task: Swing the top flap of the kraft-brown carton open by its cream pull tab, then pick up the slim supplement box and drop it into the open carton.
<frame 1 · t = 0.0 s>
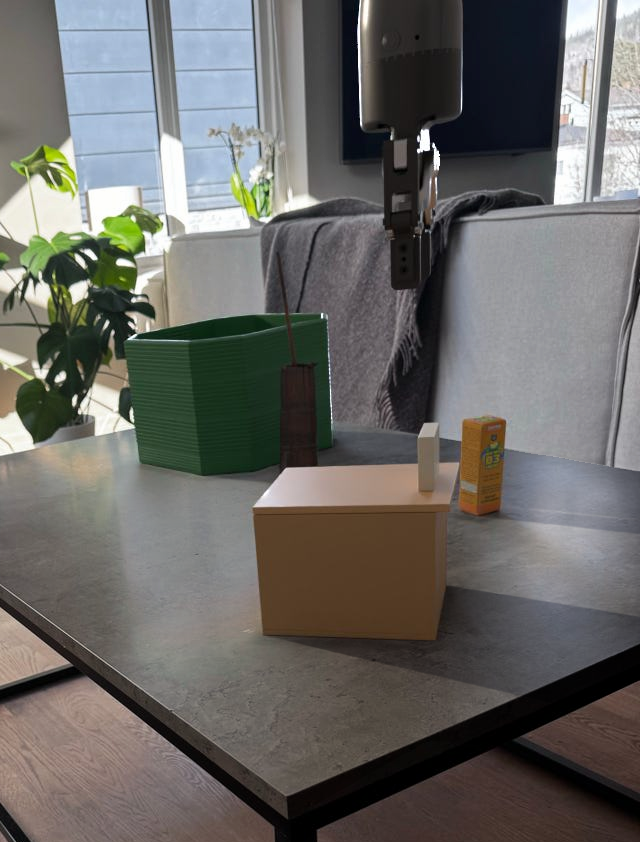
hand: (411, 284, 75), 25 cm above the table, tool pointing down, fingers open, 8 cm apart
flap: (358, 462, 74), point 13 cm above the table, hinge at 0.0°
carton: (357, 608, 80), on the table
butter churn: (307, 482, 120), on the table
planter: (236, 450, 141), on the table
supplement box: (480, 512, 100), on the table
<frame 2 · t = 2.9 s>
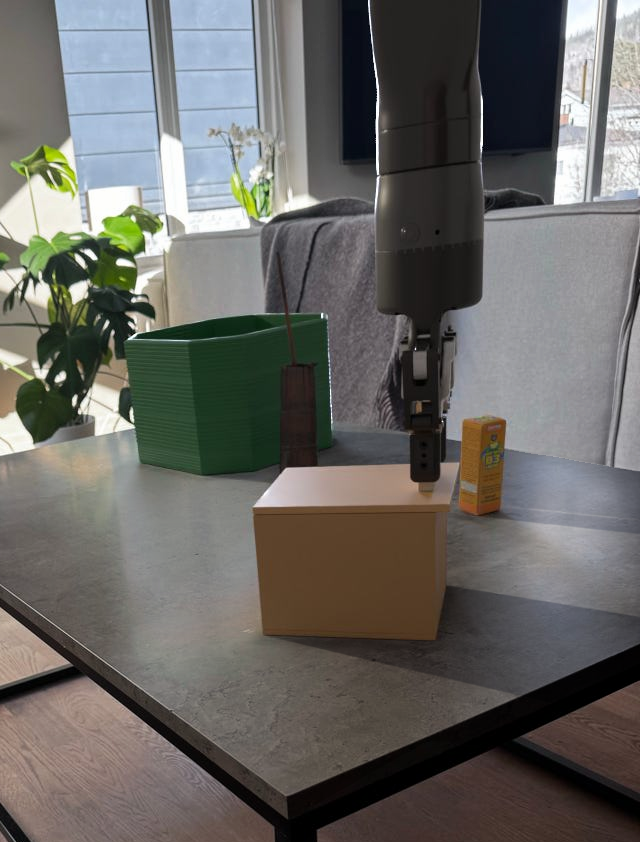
hand: (428, 470, 73), 12 cm above the table, tool pointing down, fingers closed on flap, 5 cm apart
flap: (358, 462, 74), point 13 cm above the table, hinge at 0.0°, touching gripper
everything else where it was.
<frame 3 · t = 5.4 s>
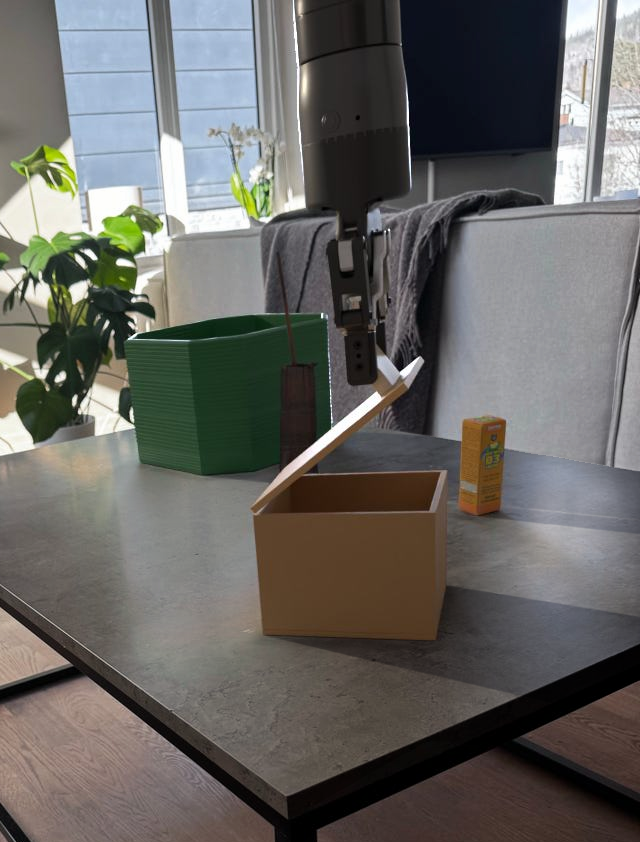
hand: (368, 376, 71), 20 cm above the table, tool pointing down, fingers closed on flap, 5 cm apart
flap: (322, 413, 73), point 17 cm above the table, hinge at 37.0°, touching gripper
everything else where it was.
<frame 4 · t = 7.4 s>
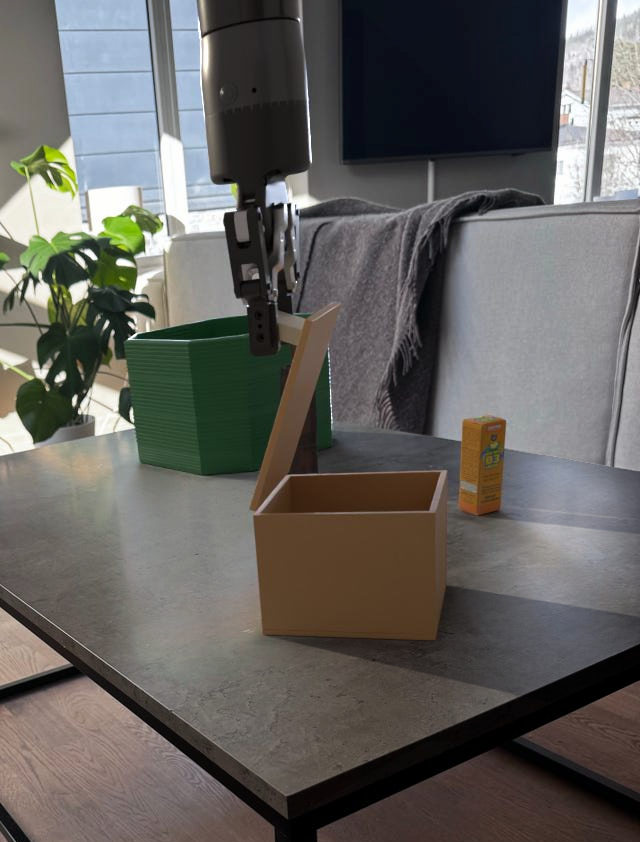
hand: (274, 348, 73), 22 cm above the table, tool pointing down, fingers closed on flap, 5 cm apart
flap: (271, 396, 74), point 19 cm above the table, hinge at 69.3°, touching gripper
everything else where it was.
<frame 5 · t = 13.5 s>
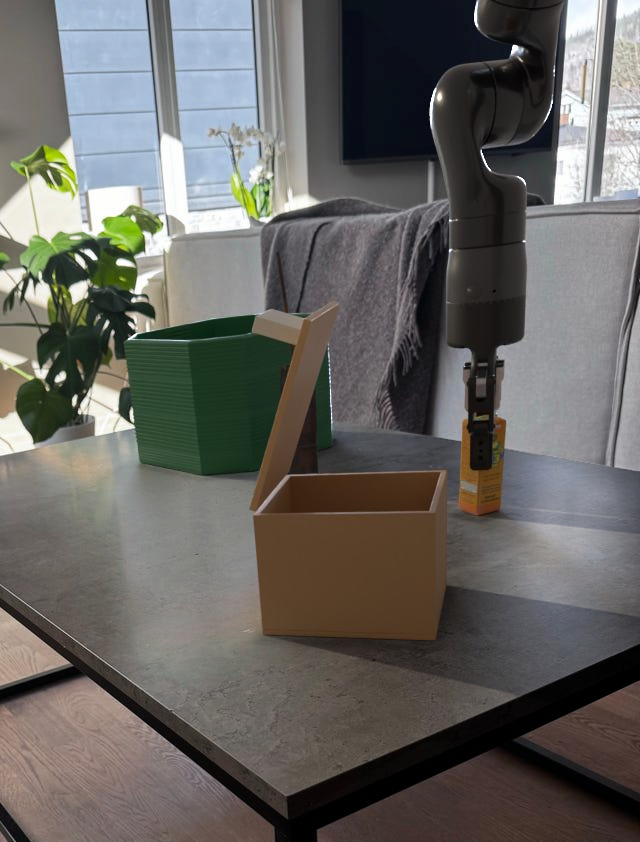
hand: (481, 462, 98), 5 cm above the table, tool pointing down, fingers closed on supplement box, 4 cm apart
flap: (271, 396, 74), point 19 cm above the table, hinge at 69.7°
supplement box: (480, 511, 100), on the table, touching gripper
everything else where it was.
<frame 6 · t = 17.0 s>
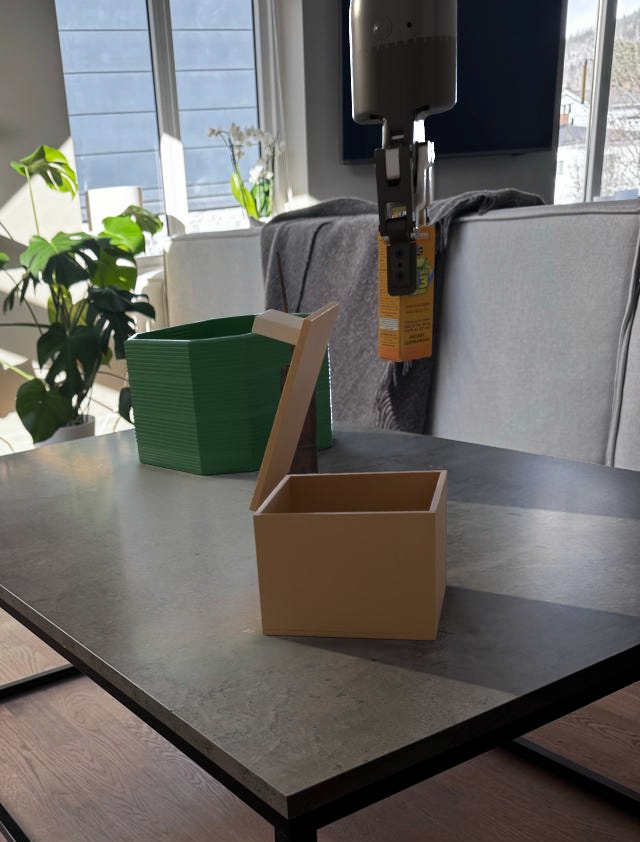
hand: (406, 290, 74), 25 cm above the table, tool pointing down, fingers closed on supplement box, 4 cm apart
supplement box: (406, 360, 76), point 20 cm above the table, touching gripper
everything else where it was.
when the fingers open (14 cm above the table, at t = 20.7 s): supplement box drops 8 cm, resting on carton.
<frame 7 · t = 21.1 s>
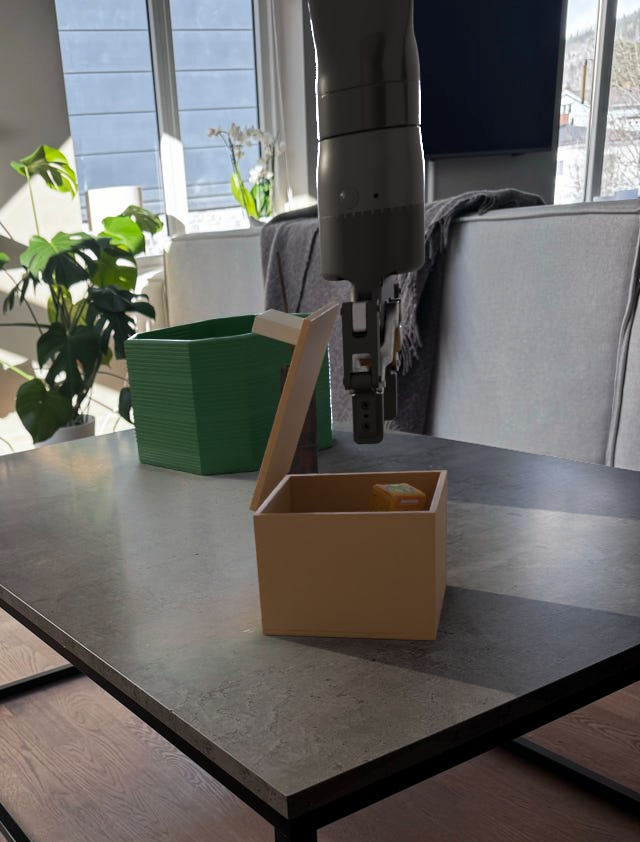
hand: (376, 430, 73), 15 cm above the table, tool pointing down, fingers open, 7 cm apart
supplement box: (381, 604, 78), point 1 cm above the table, touching carton
everything else where it was.
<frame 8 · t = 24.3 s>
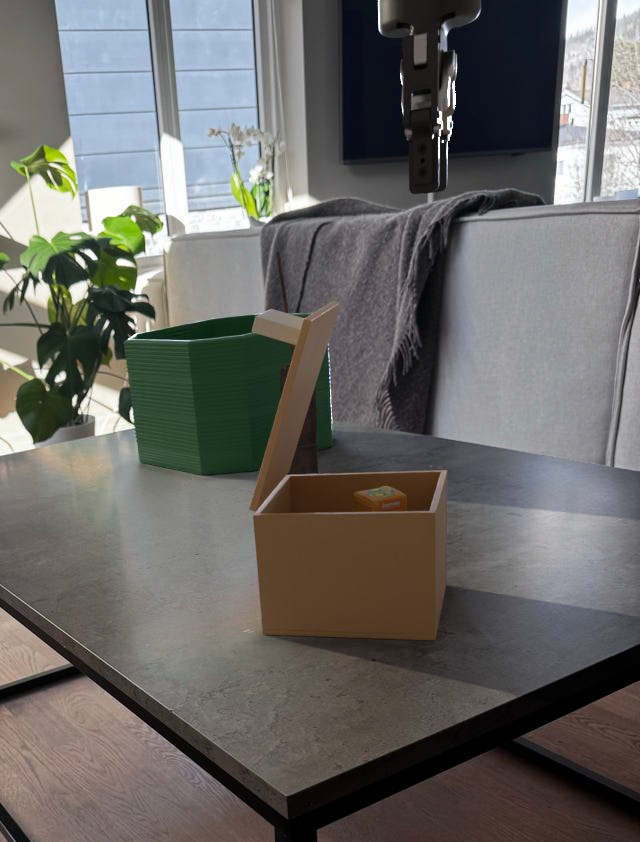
hand: (429, 192, 75), 32 cm above the table, tool pointing down, fingers open, 8 cm apart
at the end: flap at +70° (first picture: +0°); supplement box inside the target area in the carton (2.1 cm from its centre), point 0.3 cm above the carton's base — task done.
